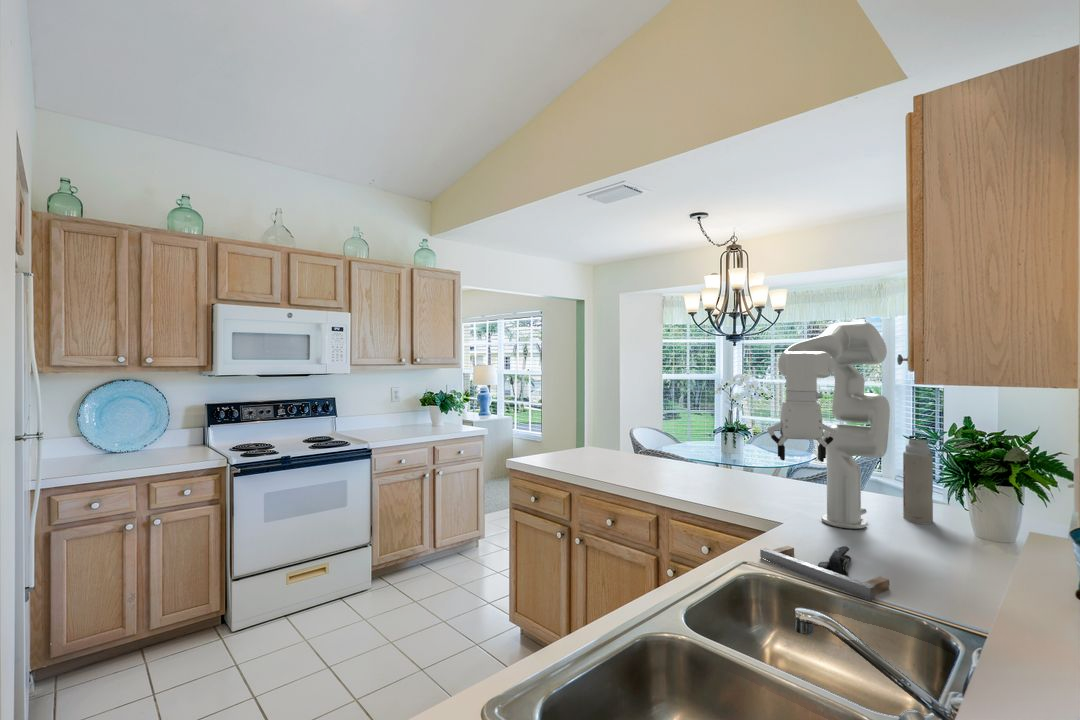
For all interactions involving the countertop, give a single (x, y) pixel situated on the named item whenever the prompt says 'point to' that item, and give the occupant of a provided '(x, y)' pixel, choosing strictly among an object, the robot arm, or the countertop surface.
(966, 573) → the countertop surface
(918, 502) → the thermos bottle
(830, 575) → the dock
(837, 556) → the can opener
